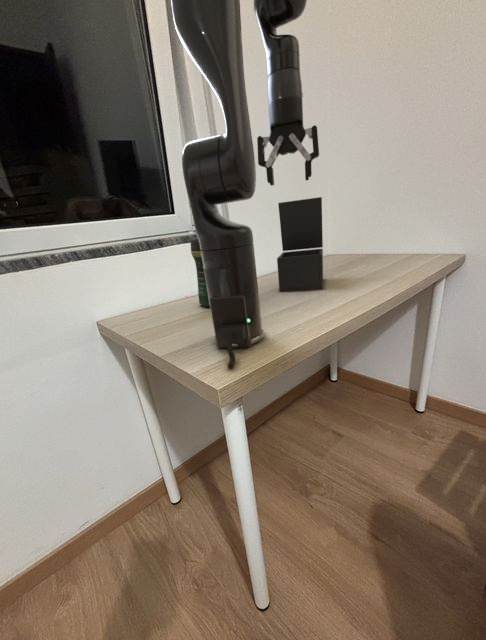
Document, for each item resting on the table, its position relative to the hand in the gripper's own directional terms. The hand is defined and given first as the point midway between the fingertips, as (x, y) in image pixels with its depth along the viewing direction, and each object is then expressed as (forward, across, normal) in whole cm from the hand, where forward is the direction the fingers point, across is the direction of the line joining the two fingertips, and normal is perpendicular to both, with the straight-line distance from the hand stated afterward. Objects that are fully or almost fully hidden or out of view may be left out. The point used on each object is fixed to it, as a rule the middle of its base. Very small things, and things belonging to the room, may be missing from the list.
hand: (289, 182), depth 75 cm
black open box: (+28, +1, +12) cm, 31 cm away
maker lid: (+11, +1, +17) cm, 20 cm away
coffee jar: (+28, -22, -4) cm, 36 cm away
